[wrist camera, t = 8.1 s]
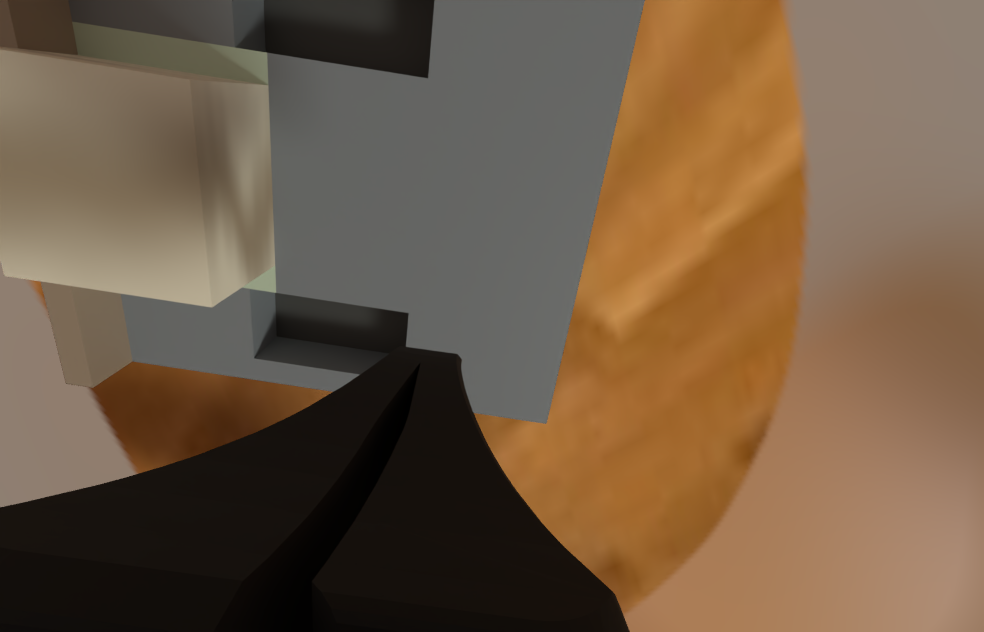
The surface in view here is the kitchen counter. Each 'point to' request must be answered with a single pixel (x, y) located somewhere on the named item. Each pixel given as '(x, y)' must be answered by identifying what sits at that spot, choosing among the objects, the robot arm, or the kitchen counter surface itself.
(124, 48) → the board
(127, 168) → the beech block
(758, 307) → the kitchen counter surface
